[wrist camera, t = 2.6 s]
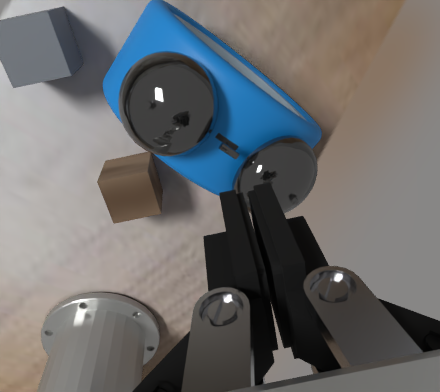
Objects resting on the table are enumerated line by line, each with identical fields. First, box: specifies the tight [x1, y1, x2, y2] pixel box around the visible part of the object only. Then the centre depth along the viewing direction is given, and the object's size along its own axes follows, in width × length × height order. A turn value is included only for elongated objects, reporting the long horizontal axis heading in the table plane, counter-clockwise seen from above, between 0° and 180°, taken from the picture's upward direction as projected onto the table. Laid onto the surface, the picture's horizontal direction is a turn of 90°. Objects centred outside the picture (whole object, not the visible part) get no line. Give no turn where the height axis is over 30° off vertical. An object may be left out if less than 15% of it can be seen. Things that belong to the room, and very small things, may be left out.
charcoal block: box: [0, 7, 84, 88], centre depth 27 cm, size 4×4×4 cm
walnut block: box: [97, 152, 163, 223], centre depth 33 cm, size 4×4×4 cm
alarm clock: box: [103, 0, 322, 213], centre depth 24 cm, size 13×6×15 cm, turn 53°
